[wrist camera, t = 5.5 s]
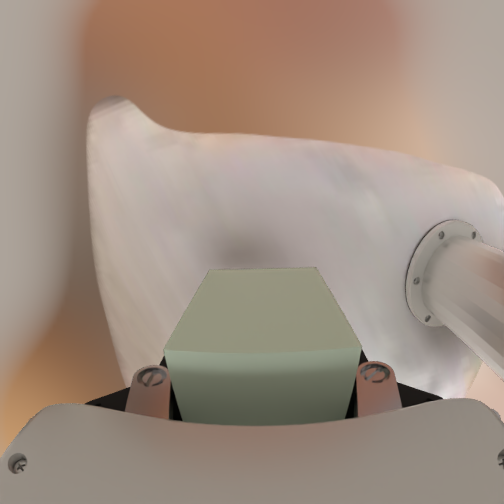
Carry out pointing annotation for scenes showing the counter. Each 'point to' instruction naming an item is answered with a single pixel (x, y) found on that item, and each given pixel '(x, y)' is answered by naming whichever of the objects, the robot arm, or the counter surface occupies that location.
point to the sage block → (263, 350)
